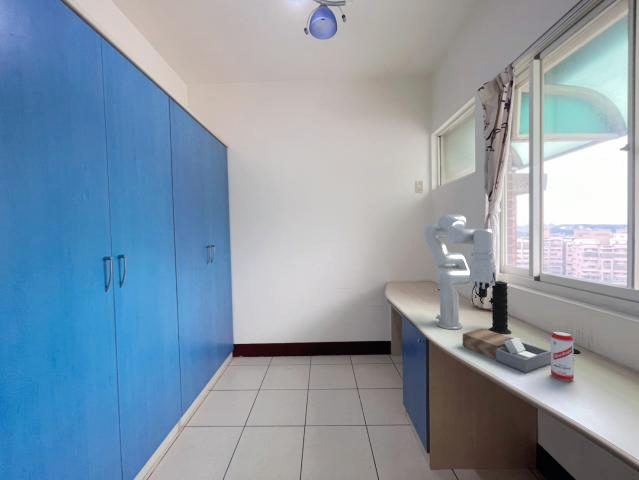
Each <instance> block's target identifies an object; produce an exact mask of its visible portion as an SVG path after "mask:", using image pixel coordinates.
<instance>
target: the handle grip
mask: <svg viewBox="0 0 639 480" xmlns="http://www.w3.org/2000/svg"><path fill="white" fill-rule="evenodd" d="M491 288H492V290H491V295H492V296H491V297H492V298H491V300H492V302H491V303H492V304H491V306H492V308H491V309H492V311H491V312H492V317H491V319H492V323H491V324H492V326H491V327H489V328H488V330H489V331H492V332H495V333H499V334H502V335H511V334H512V330H510V329H509V328H508V327H509V323H508V321H509V320H508V315H509V314H508V313H509V312H508V307H509V306H508V302H509V301H508V282H505V281H501V280H496V281H495V286H491Z"/></svg>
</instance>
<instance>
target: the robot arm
mask: <svg viewBox="0 0 639 480" xmlns="http://www.w3.org/2000/svg"><path fill="white" fill-rule="evenodd" d="M466 226H467V219H466V217H465V216H464V215H463V214H459V213H458V214H457V213H456V214H442V215H441V216H440V217H439V218H438V219H437V223H434V224H433V223H432V224H429V225H427V226H426V227H425V228H424V239H425V242H426V244H427V246H428V247H429V248H430V251H431V254H432V257H433V260H434V263H435V266H436V267H437V268H438V269H439V270H440V271H439V272H438V273H437V282H438V287H439V314H437V315H436V316H435V319H437V320H438V321H437V324H436V325H437V326H438V327H440V328H443V329H446V330H459V329H462V328H463V324H462V323H461V322H460V311H459V310H460V307H459V305H460V304H459V302H460V301H459V299H460V297H459V293H458V291H457V290H456V288H455V287H467V286H468V287H469V286H470V285H471V284H475V285H476V287H477V289H478V298H482V299H483V298H484V299H485V298H487V296H488V289H489V288H490V287H492V286H495V281H497V273H496V270H497V269H496V265H495V261H494V259H493V230H492V229H489V228H466ZM441 239H448V240H449V241H450V242H451V243H454V244H456V245H457V246H458V245H459V246H467V245H468V246H469V245H472V249H473V250H472V252H471V255H470V256H471V257H473V258H471V261H470V264H469V265H468V263H467V261H466V258H465V256H464V255H463V254H462V252H461V253H460V252H451V251H449V250H448V248H447V246H446V244H445V243H444V242H443V241H442V240H441Z"/></svg>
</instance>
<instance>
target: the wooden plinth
mask: <svg viewBox="0 0 639 480" xmlns="http://www.w3.org/2000/svg"><path fill="white" fill-rule="evenodd" d="M514 338H515V337H511V336H507V335H506V334H499V333H495V332H492V331H489V329H485V328H480V329H476V330H473V331H467V332H463V333H462V347H463V346H464V347H463V348H465V347H466V349H468V350H470V349H471V350H470V351H473V350H474V351H473V352H475V351H476V352H475V353H479V354H481V355H482V356H485V357H488V358H490V359H493V360H495V361H496V349H498V348H501V347H505V346H506V345H505V343H504V342H505V341H508V340H511V339H514Z"/></svg>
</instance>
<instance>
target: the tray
mask: <svg viewBox="0 0 639 480" xmlns="http://www.w3.org/2000/svg"><path fill="white" fill-rule="evenodd" d="M521 343H522V344H523V346H524V348H525V349H526V350H524V351H527V352H530V353H533V354H536V355H535V356H533V357H530V358H527V359H523V358H521V357H518V356H516V353H513V354H510V352H509V351H508V349H507V347H506V346H505V347H501V348H498V349H496V360H495V361H496V362H497V363H500V365H501V364H502V365H504V366H506V367H509V368H512V369H514V370H517V371H519V372H522V373H524V374H528V373H531V372H534V371H537V370H539V369H541V368H545V367H547V366H549V365H550V366H551V350H548V349H545V348H541V347H538V346H535V345H532V344H528V343H525V342H522V341H521Z"/></svg>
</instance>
